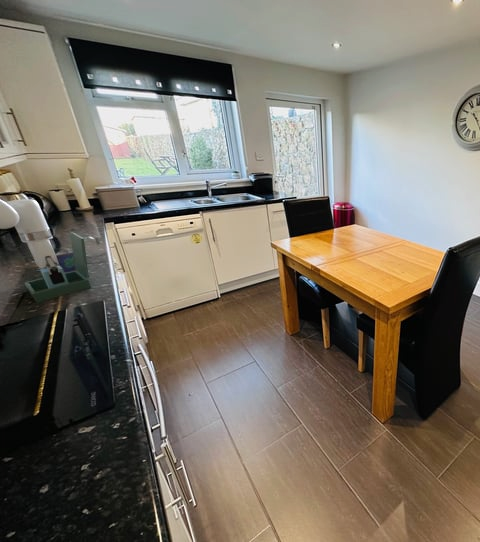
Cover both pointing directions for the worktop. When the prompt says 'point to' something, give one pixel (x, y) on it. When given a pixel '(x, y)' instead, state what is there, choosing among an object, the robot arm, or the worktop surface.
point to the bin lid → (80, 253)
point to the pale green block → (48, 280)
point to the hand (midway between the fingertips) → (56, 279)
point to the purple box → (66, 260)
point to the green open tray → (43, 293)
